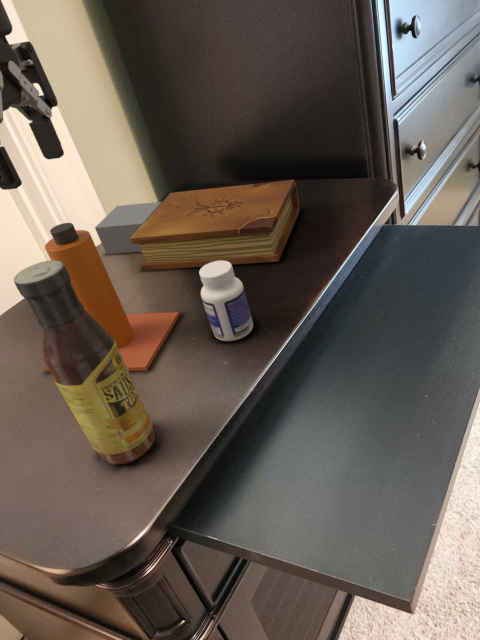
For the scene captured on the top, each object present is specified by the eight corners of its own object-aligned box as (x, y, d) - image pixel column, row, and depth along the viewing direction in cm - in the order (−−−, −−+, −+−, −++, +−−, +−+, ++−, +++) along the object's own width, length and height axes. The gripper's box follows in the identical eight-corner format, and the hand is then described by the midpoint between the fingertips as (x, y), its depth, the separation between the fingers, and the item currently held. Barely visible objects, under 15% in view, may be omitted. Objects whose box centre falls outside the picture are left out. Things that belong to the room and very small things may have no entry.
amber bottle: (88, 351, 68) (29, 239, 58) (106, 328, 72) (53, 219, 61) (124, 350, 67) (70, 236, 57) (140, 327, 70) (92, 215, 60)
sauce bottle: (150, 465, 52) (57, 289, 39) (91, 470, 52) (-20, 300, 39) (164, 419, 56) (86, 248, 43) (110, 424, 57) (17, 259, 44)
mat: (48, 372, 67) (45, 368, 67) (90, 319, 76) (89, 315, 75) (147, 370, 64) (145, 367, 63) (179, 315, 72) (178, 311, 72)
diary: (300, 210, 93) (295, 177, 89) (278, 262, 79) (271, 226, 76) (181, 220, 98) (171, 189, 94) (142, 270, 85) (129, 237, 81)
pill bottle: (255, 316, 69) (239, 254, 63) (252, 339, 65) (235, 276, 59) (216, 321, 70) (197, 261, 64) (211, 344, 66) (190, 282, 60)
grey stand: (106, 254, 92) (94, 227, 89) (127, 231, 98) (116, 205, 95) (152, 251, 90) (142, 223, 87) (170, 228, 96) (161, 201, 93)
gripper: (-42, -25, 50) (39, 152, 61) (-161, -6, 40) (-38, 202, 51) (25, -39, 48) (96, 146, 59) (-81, -24, 38) (28, 196, 49)
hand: (34, 172), depth 55 cm, fingers open, 8 cm apart
